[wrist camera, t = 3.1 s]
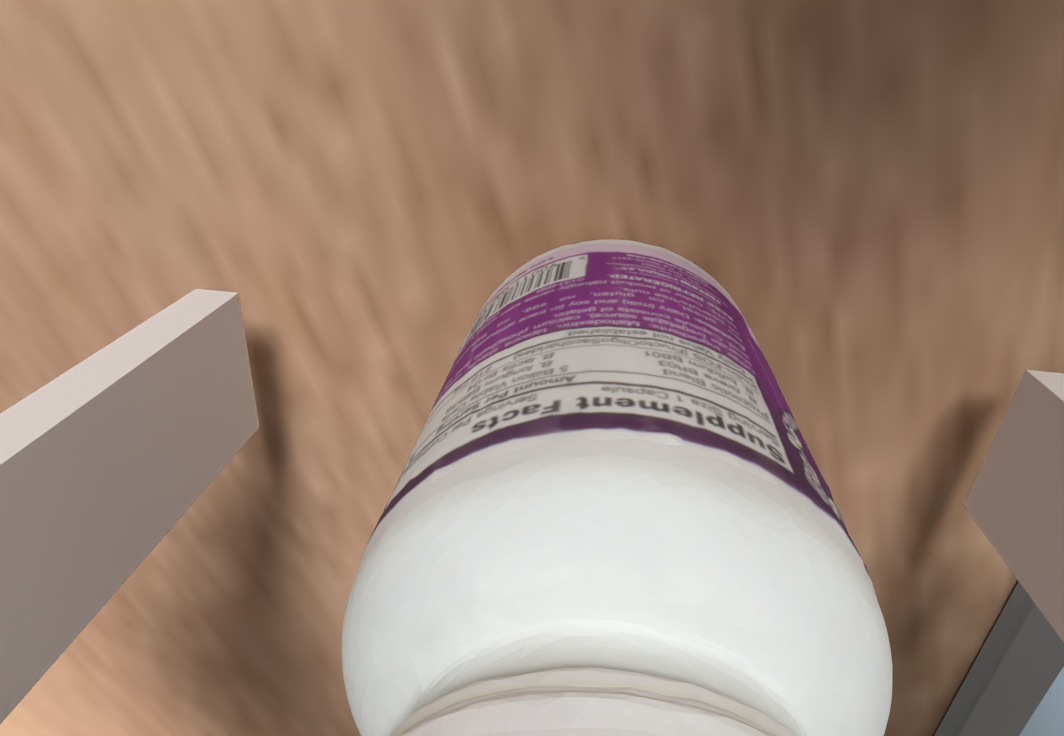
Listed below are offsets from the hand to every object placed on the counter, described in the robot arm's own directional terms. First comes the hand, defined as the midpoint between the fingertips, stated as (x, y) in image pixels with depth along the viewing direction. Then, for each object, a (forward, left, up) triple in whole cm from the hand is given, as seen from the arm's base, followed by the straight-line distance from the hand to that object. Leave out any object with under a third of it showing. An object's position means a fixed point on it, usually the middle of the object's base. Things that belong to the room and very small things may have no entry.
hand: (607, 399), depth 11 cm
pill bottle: (0, 0, -1) cm, 1 cm away
